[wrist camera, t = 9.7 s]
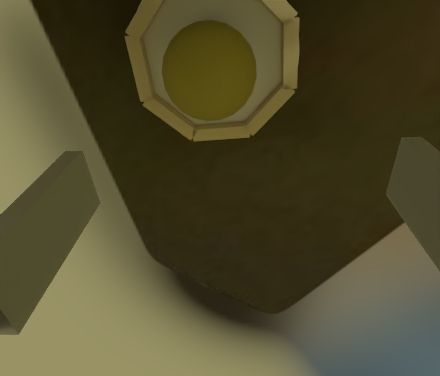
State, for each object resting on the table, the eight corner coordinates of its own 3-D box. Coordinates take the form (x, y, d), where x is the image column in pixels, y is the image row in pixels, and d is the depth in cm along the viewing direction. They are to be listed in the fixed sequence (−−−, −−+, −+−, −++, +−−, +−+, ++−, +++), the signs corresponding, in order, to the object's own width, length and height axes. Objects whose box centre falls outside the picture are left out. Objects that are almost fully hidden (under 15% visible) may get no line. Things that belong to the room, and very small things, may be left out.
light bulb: (248, 94, 29) (253, 139, 21) (178, 90, 30) (155, 133, 21) (256, 14, 26) (266, 29, 17) (176, 9, 26) (147, 22, 17)
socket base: (112, -31, 25) (104, -32, 23) (301, -56, 24) (306, -58, 22) (153, 139, 33) (148, 147, 32) (295, 128, 32) (298, 136, 30)
